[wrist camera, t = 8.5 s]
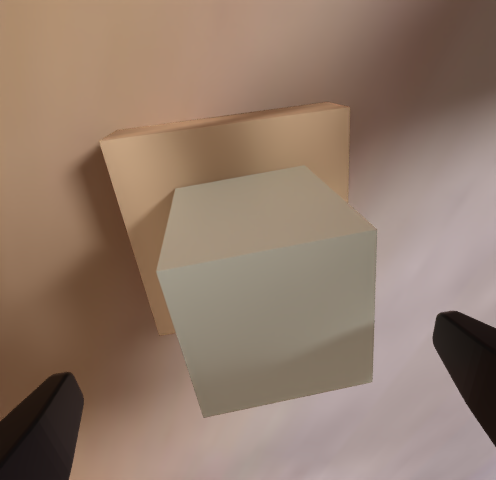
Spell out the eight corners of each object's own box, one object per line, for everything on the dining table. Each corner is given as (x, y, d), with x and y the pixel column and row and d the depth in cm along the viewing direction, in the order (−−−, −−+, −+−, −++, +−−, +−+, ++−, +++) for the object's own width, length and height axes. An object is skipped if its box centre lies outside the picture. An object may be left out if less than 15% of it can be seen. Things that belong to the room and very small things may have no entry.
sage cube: (304, 165, 13) (377, 229, 8) (312, 273, 15) (372, 382, 10) (175, 188, 13) (155, 271, 7) (202, 295, 15) (203, 417, 10)
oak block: (324, 101, 15) (349, 107, 12) (326, 272, 19) (345, 305, 16) (119, 128, 14) (98, 141, 12) (166, 297, 18) (159, 335, 16)
